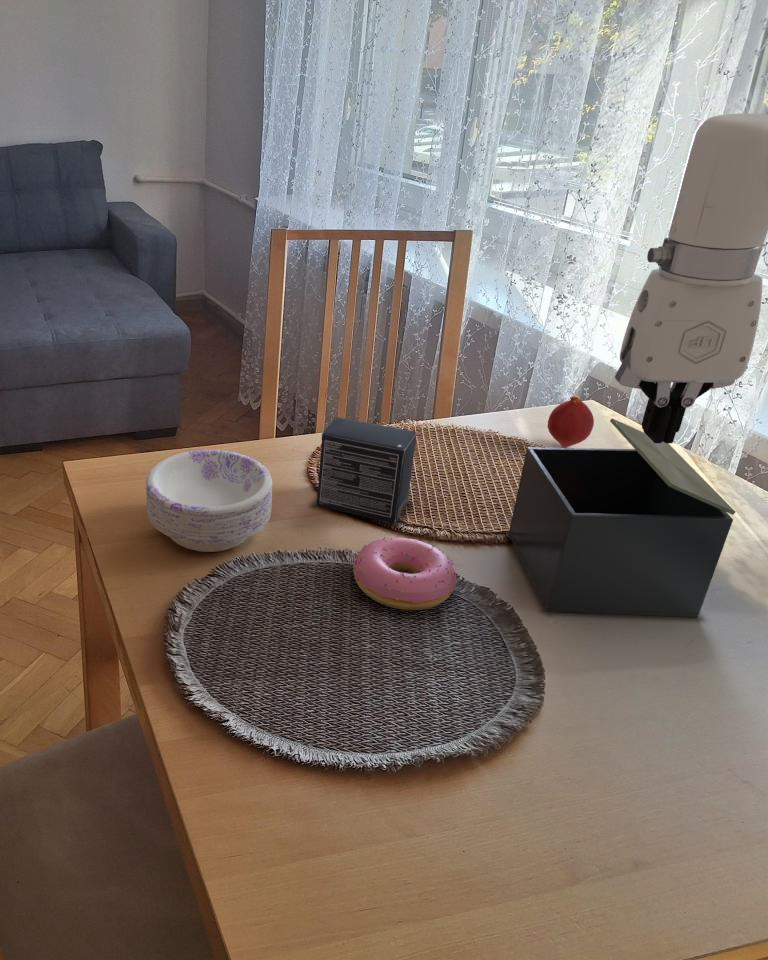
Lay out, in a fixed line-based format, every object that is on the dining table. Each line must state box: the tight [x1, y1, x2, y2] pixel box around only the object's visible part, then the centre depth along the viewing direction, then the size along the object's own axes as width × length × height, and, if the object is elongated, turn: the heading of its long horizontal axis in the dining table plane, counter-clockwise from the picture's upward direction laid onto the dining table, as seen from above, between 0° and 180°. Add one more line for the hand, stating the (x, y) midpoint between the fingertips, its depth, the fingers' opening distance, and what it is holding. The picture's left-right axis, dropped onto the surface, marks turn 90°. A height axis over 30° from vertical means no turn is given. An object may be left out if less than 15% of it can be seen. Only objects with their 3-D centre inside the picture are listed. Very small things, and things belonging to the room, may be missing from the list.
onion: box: [547, 395, 595, 448], centre depth 122 cm, size 6×6×8 cm
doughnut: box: [352, 536, 458, 611], centre depth 95 cm, size 11×11×4 cm
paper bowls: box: [145, 449, 273, 553], centre depth 105 cm, size 15×15×8 cm
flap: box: [609, 418, 736, 516], centre depth 89 cm, size 7×15×1 cm, turn 175°
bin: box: [507, 446, 734, 618], centre depth 94 cm, size 15×15×12 cm
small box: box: [315, 416, 418, 525], centre depth 109 cm, size 11×6×10 cm, turn 59°
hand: (657, 437), depth 88 cm, fingers closed
